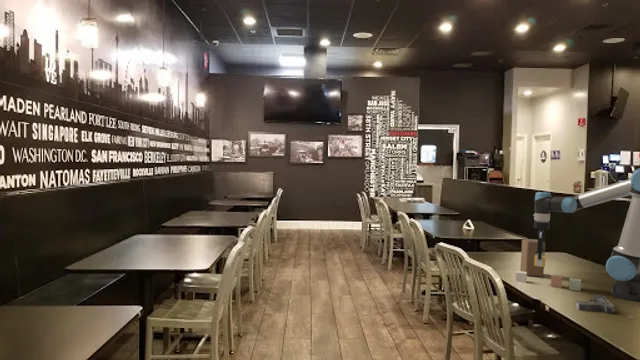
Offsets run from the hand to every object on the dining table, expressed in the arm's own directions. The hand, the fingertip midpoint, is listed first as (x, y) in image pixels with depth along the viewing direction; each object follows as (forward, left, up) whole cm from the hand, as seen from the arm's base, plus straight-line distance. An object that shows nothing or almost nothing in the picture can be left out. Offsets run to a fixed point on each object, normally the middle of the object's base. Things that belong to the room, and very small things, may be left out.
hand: (539, 264), depth 242 cm
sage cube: (-13, -11, -10) cm, 20 cm away
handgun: (-37, +7, -11) cm, 39 cm away
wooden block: (+17, -13, -10) cm, 24 cm away
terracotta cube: (-6, -5, -10) cm, 13 cm away
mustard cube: (0, 0, 0) cm, 0 cm away
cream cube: (+7, +6, -10) cm, 14 cm away
